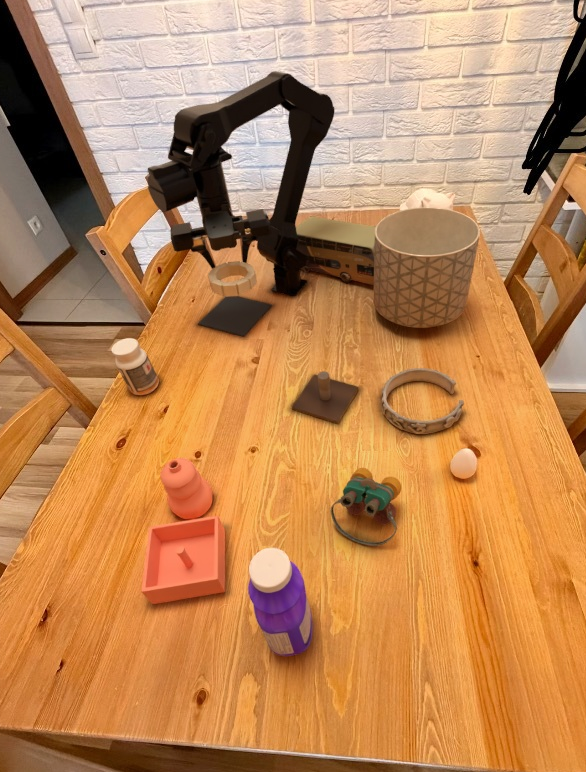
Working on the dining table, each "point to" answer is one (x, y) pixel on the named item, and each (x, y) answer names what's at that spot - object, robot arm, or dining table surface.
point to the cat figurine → (429, 200)
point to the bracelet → (415, 425)
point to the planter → (424, 265)
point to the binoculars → (369, 500)
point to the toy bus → (338, 248)
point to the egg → (464, 463)
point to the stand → (325, 398)
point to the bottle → (280, 602)
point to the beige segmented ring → (236, 286)
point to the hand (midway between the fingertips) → (230, 270)
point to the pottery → (185, 541)
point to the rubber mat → (235, 315)
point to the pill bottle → (135, 366)
